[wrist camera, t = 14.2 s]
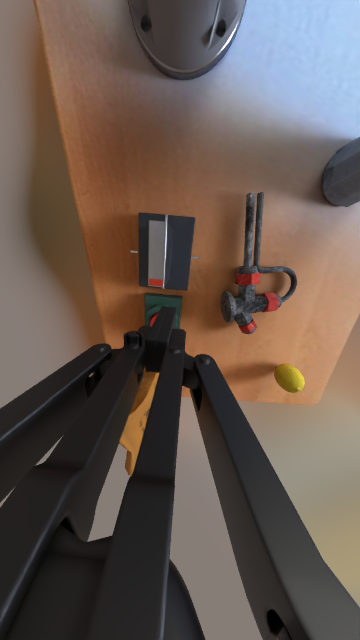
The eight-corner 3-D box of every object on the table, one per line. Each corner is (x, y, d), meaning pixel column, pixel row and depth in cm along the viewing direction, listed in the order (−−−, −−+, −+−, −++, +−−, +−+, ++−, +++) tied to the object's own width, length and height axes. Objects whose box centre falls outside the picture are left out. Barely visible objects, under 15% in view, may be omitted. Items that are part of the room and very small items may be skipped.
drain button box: (146, 292, 37) (142, 297, 34) (182, 296, 37) (181, 301, 34) (146, 332, 41) (142, 340, 38) (178, 335, 41) (177, 343, 38)
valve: (279, 323, 40) (218, 330, 39) (296, 195, 31) (218, 201, 31) (299, 334, 34) (228, 342, 33) (327, 180, 25) (231, 187, 25)
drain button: (152, 311, 35) (150, 314, 34) (170, 313, 35) (169, 316, 34) (151, 328, 37) (149, 332, 35) (169, 330, 37) (168, 334, 35)
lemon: (290, 355, 42) (311, 378, 34) (292, 372, 43) (313, 397, 36) (267, 360, 43) (283, 384, 35) (270, 377, 44) (286, 402, 37)
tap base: (133, 213, 31) (129, 210, 29) (203, 219, 31) (204, 217, 29) (135, 283, 37) (131, 285, 34) (194, 289, 36) (195, 292, 34)
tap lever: (159, 227, 30) (148, 219, 22) (173, 228, 30) (167, 221, 22) (157, 277, 33) (147, 286, 26) (169, 279, 33) (163, 288, 26)
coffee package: (140, 383, 48) (104, 480, 28) (131, 346, 43) (79, 432, 23) (174, 381, 47) (162, 481, 27) (168, 344, 42) (148, 431, 22)
